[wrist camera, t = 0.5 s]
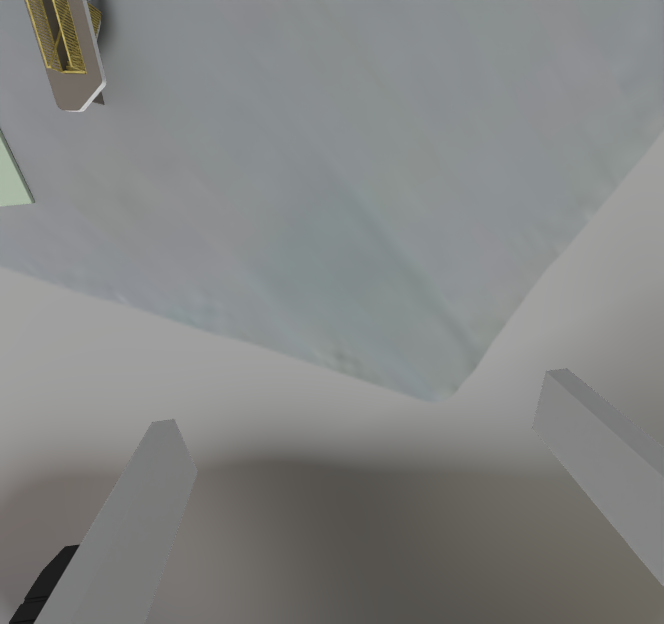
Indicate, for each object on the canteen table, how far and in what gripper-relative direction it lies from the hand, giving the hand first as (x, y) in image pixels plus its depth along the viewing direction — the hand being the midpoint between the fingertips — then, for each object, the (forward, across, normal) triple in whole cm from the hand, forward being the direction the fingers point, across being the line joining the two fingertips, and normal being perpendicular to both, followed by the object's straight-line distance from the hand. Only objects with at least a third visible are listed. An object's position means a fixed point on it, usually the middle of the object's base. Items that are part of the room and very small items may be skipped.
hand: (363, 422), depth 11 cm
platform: (+27, -17, +19) cm, 37 cm away
